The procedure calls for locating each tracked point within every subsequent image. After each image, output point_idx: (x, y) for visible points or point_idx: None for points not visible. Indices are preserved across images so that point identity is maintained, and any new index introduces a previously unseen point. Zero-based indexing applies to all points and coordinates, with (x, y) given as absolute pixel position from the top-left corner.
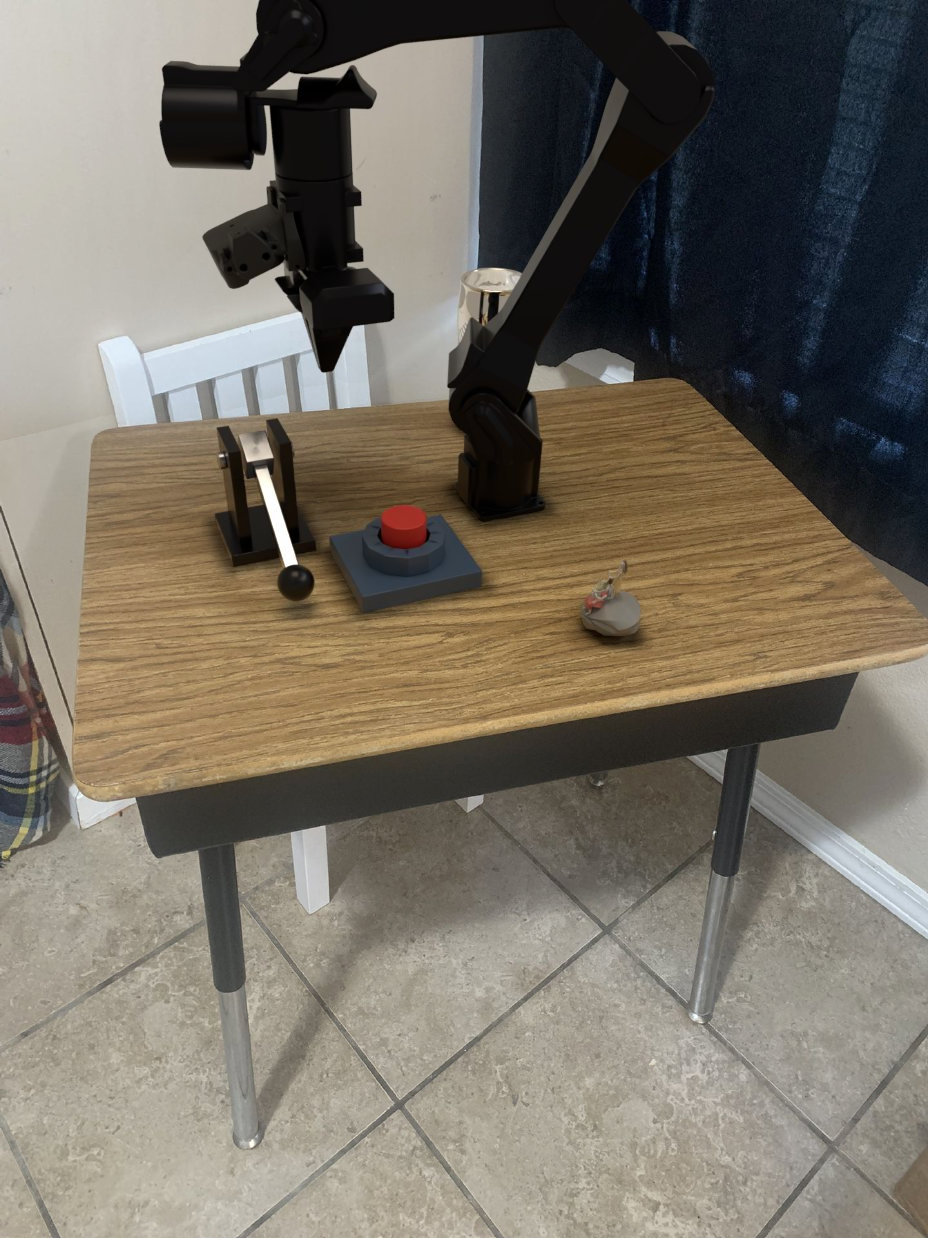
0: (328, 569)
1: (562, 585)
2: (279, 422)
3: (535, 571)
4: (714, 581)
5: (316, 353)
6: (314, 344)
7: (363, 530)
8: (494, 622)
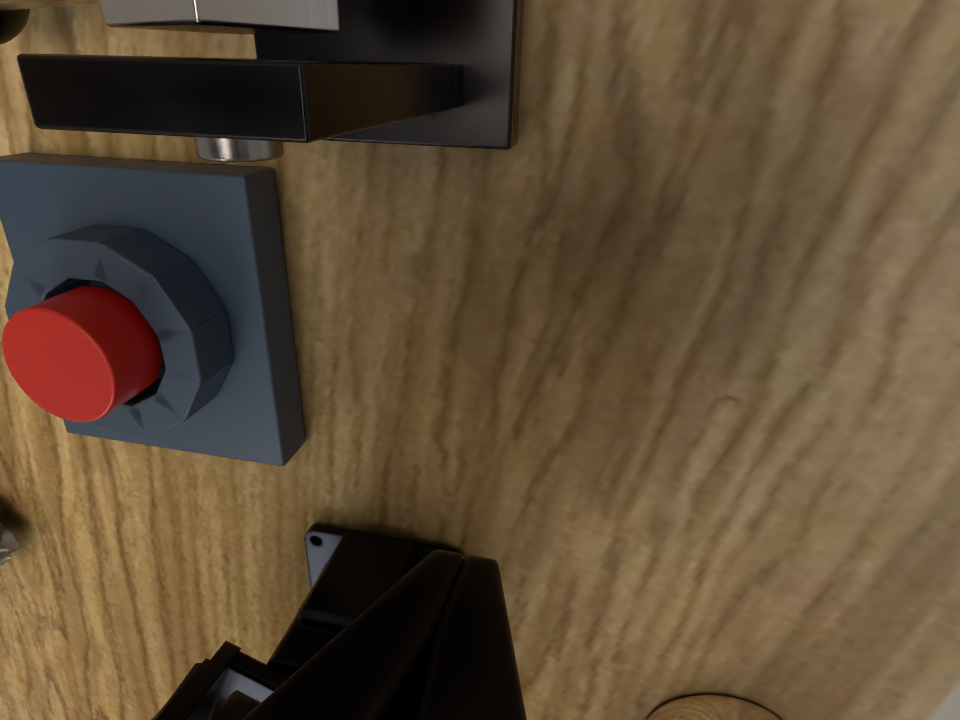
0: None
1: (98, 525)
2: (250, 134)
3: (141, 513)
4: (91, 685)
5: (374, 637)
6: (319, 701)
7: (250, 274)
8: (3, 379)
